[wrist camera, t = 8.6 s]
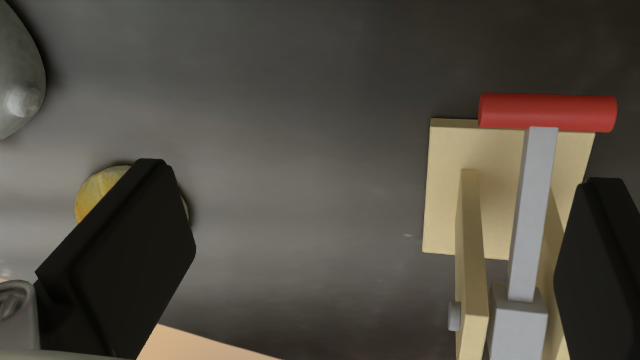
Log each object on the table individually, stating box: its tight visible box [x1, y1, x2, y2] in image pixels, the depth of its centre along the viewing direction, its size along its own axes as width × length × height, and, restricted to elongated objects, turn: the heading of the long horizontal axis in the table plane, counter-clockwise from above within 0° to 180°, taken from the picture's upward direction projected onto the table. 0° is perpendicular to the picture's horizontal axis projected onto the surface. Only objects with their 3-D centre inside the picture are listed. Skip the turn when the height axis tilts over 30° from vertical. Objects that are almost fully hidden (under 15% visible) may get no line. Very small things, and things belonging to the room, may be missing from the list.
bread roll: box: [74, 166, 189, 224], centre depth 38 cm, size 8×9×4 cm
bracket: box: [422, 118, 595, 360], centre depth 27 cm, size 10×9×13 cm
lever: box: [478, 93, 617, 360], centre depth 22 cm, size 12×5×2 cm, turn 4°
